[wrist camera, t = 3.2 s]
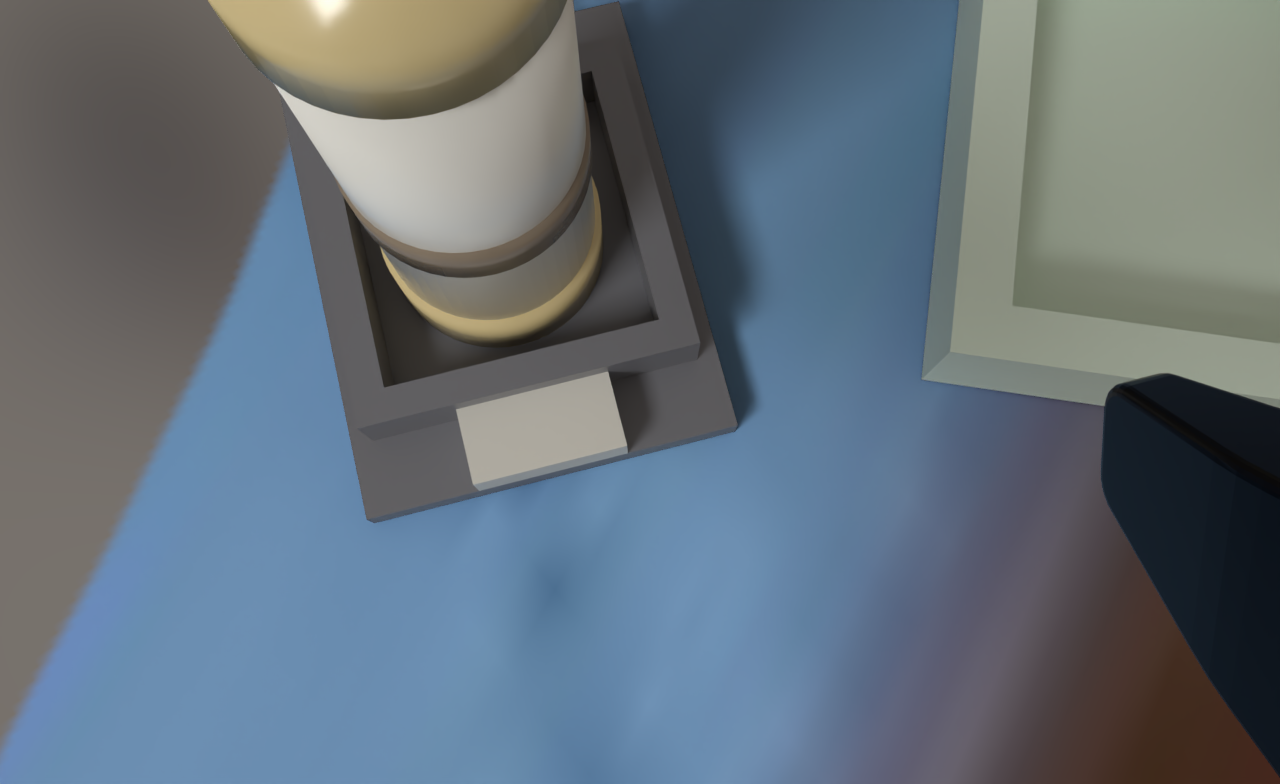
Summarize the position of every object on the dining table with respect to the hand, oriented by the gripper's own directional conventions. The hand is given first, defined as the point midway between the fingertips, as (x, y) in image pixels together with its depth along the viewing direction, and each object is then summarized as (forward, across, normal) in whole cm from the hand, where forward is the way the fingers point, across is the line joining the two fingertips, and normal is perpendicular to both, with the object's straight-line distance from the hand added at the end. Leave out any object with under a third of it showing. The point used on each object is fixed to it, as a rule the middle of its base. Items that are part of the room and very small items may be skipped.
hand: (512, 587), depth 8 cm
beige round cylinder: (+14, 0, +4) cm, 14 cm away
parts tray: (+13, -14, +5) cm, 20 cm away
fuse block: (+14, 0, +4) cm, 15 cm away
